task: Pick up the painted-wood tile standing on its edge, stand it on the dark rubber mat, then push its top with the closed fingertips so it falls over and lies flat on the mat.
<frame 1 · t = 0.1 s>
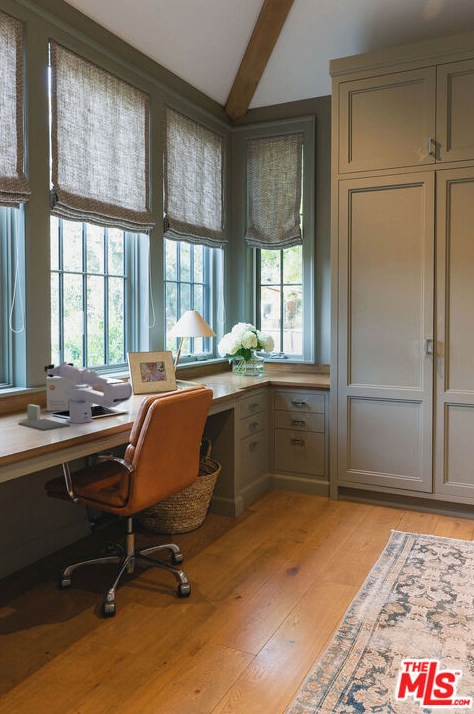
hand: (52, 367, 269), 22 cm above the table, tool horizontal, fingers open, 7 cm apart
skincare box: (70, 410, 287), on the table
mat: (44, 425, 249), on the table
tile: (34, 419, 263), on the table
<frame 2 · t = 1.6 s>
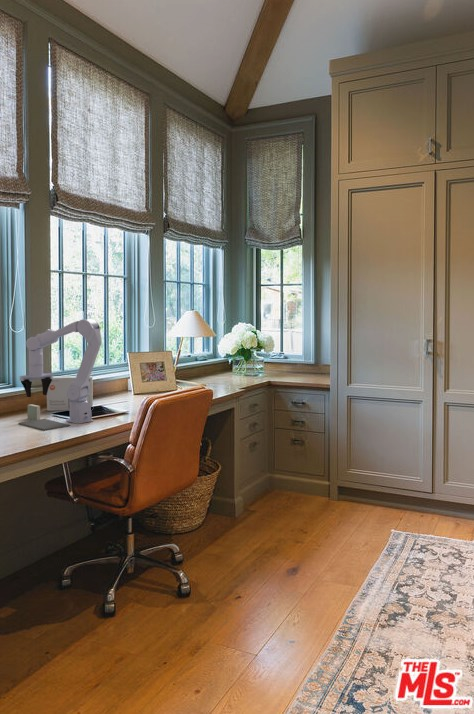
hand: (36, 395, 261), 10 cm above the table, tool pointing down, fingers open, 7 cm apart
nothing on the table moved.
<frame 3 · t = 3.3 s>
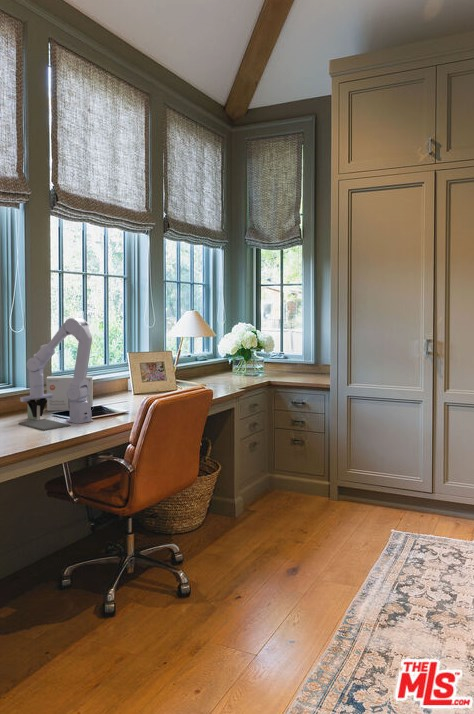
hand: (37, 416, 261), 1 cm above the table, tool pointing down, fingers closed on tile, 2 cm apart
tile: (34, 418, 263), on the table, touching gripper
everything else where it was.
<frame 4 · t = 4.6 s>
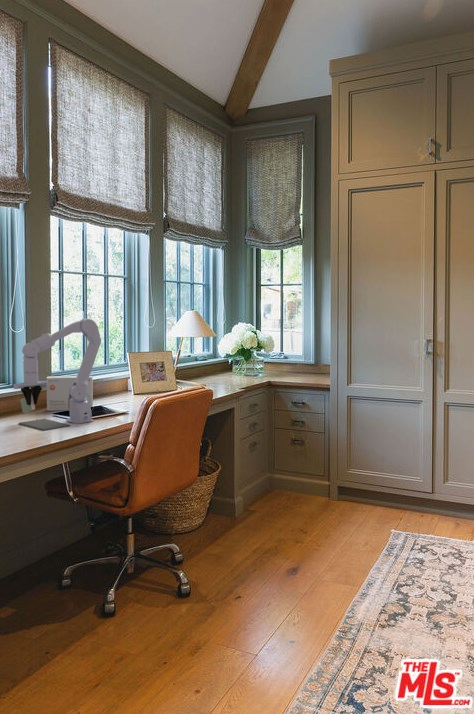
hand: (31, 404, 250), 8 cm above the table, tool pointing down, fingers closed on tile
tile: (29, 411, 252), point 5 cm above the table, tilted 19°, touching gripper
everything else where it was.
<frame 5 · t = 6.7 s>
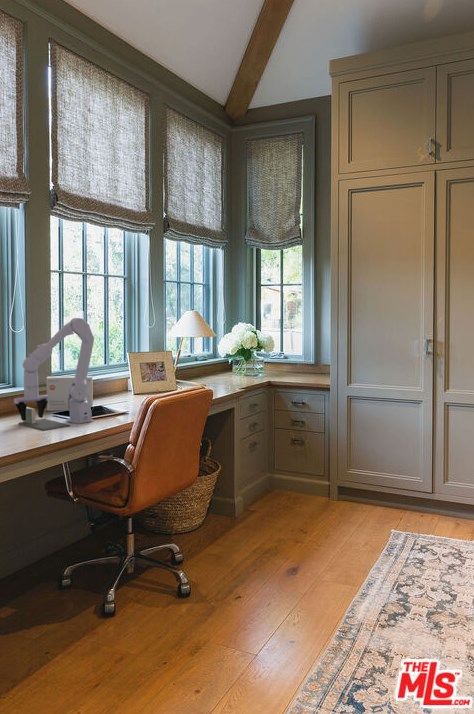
hand: (32, 418, 251), 2 cm above the table, tool pointing down, fingers open, 7 cm apart
tile: (29, 422, 253), point 1 cm above the table, touching mat
everything else where it was.
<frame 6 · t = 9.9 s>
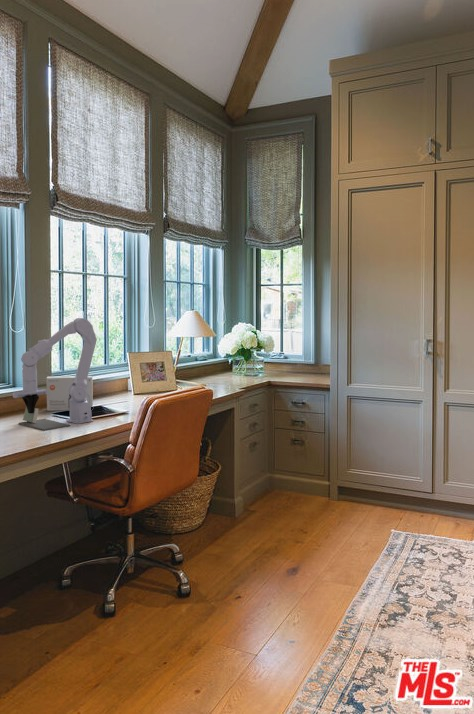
hand: (30, 413, 250), 5 cm above the table, tool pointing down, fingers closed
tile: (29, 421, 253), point 1 cm above the table, tilted 17°, touching mat
everything else where it was.
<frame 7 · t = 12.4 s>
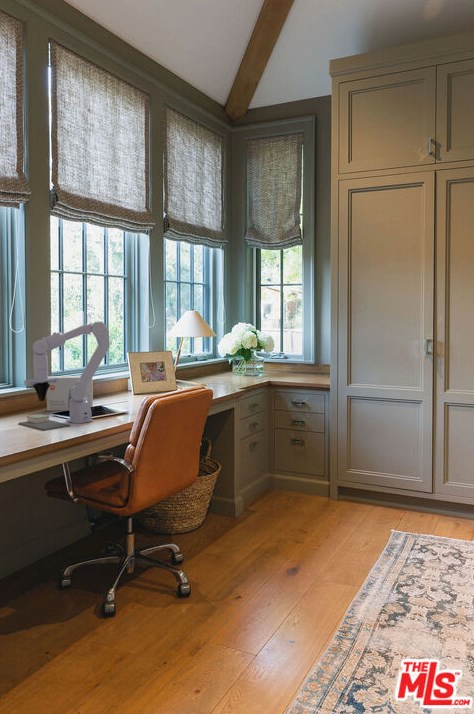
hand: (41, 400, 254), 9 cm above the table, tool pointing down, fingers closed
tile: (31, 419, 253), point 2 cm above the table, tilted 90°, touching mat
everything else where it was.
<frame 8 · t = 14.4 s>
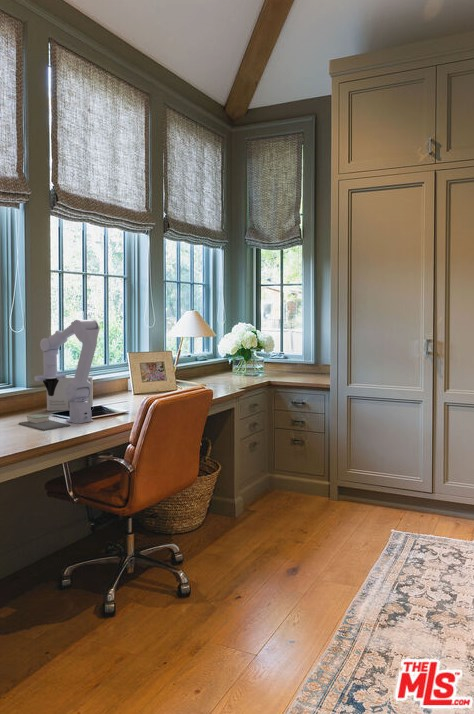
hand: (51, 395, 268), 9 cm above the table, tool pointing down, fingers closed
nothing on the table moved.
at the end: tile tilted 90°; tile inside the target area on the mat (7.7 cm from its centre), point 1.6 cm above the mat's base; the gripper is holding nothing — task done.
